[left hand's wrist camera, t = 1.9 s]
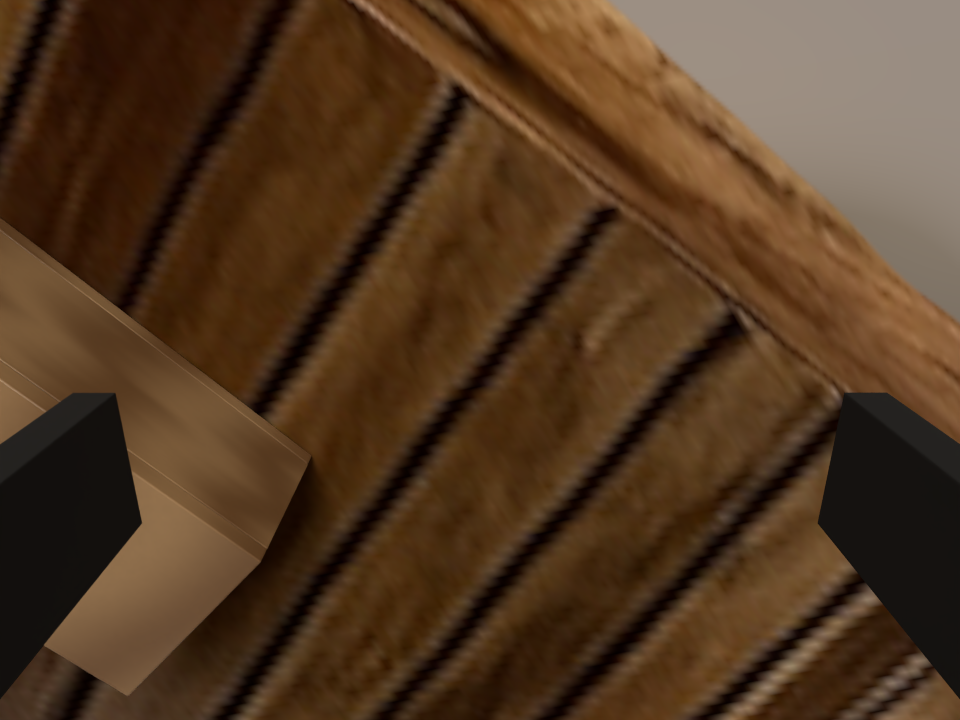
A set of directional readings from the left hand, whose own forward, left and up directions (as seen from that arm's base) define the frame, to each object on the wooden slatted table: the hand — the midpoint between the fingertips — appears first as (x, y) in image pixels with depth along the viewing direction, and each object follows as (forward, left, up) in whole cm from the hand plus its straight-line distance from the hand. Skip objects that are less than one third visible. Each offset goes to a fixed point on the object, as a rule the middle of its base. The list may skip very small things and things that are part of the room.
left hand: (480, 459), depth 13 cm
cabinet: (-18, +12, -22) cm, 31 cm away
